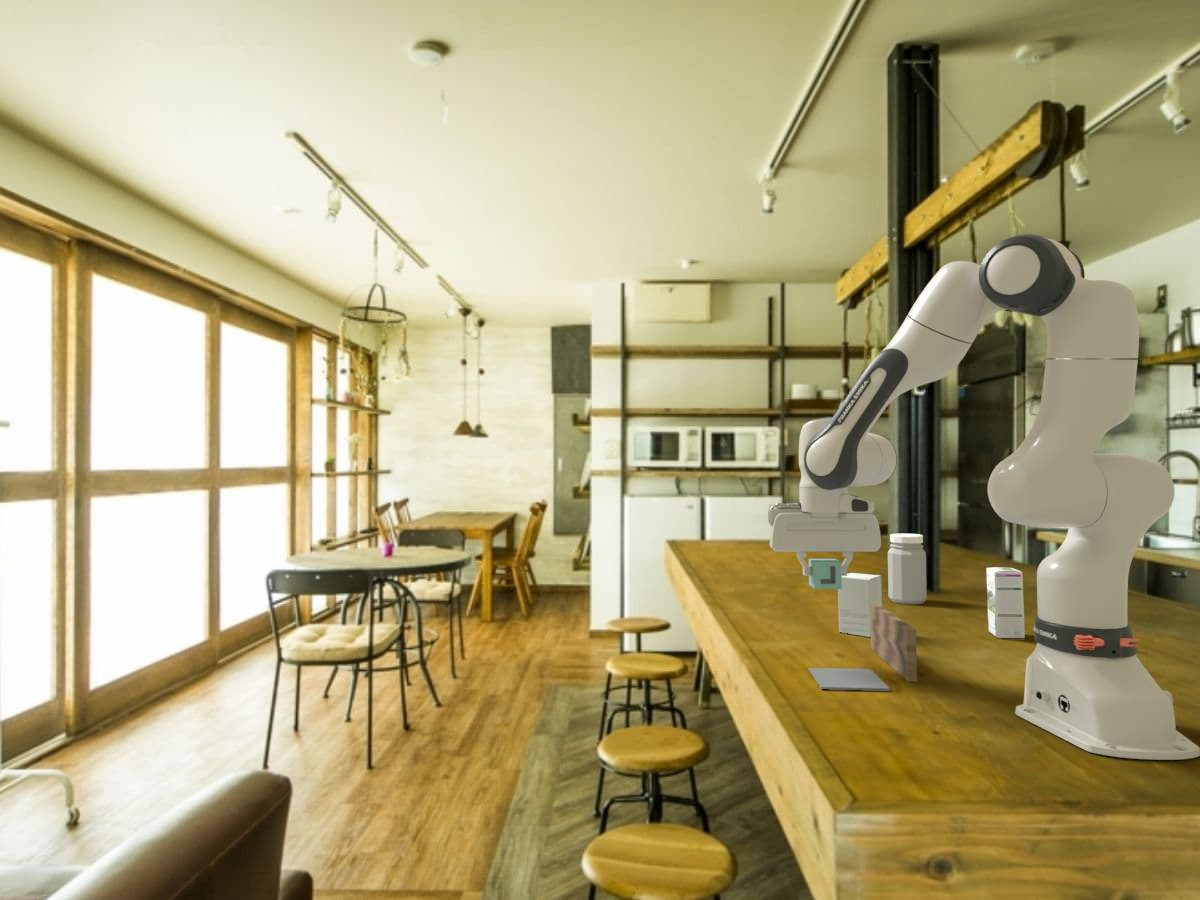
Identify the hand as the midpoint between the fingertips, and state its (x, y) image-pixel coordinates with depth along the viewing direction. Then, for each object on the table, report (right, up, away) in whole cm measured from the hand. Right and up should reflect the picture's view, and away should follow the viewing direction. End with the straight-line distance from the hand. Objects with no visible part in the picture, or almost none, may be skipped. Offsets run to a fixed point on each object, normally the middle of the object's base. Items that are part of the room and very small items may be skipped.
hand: (824, 575), depth 135 cm
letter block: (0, -2, 0) cm, 2 cm away
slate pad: (0, -16, -12) cm, 20 cm away
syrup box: (+45, -17, +19) cm, 51 cm away
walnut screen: (+12, -16, -2) cm, 20 cm away
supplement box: (+15, -17, +23) cm, 33 cm away
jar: (+40, -17, +57) cm, 72 cm away
